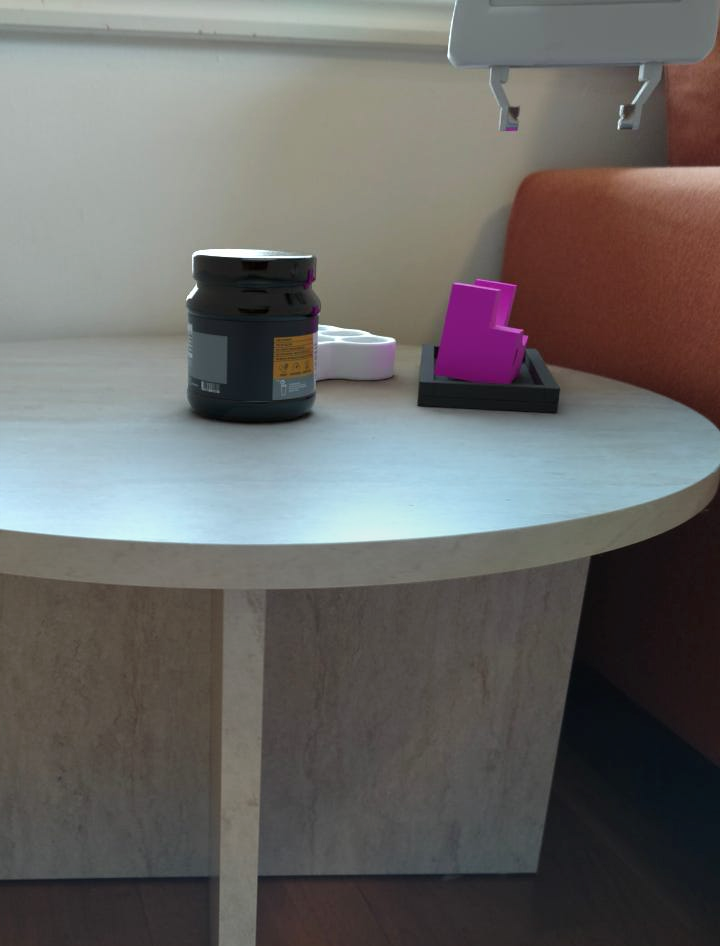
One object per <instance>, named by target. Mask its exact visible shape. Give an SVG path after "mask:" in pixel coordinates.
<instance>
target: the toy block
mask: <svg viewBox="0 0 720 946" xmlns="http://www.w3.org/2000/svg"><path fill="white" fill-rule="evenodd" d="M517 287H518V285H517V284H511V283H506V282H501V281H500V282H499V281H493V280H486V279H482V278H481V279H480V278H476V279H474V283H473V284H468V283H463V282H454V283H452V284H451V290H450V295H449V300H448V304H447V308H446V314H445V318H444V323H443V328H442V334H441V337H440V343H439V345H440V347H439V352H438V357H437V362H436V367H435V372H434V374H435V375H441V376H446V377H451V378H457V379H462V380H467V381H473V382H485V383H506V384H510V383H511V382H512V381H513V380H514V379H515V378H516V377H517V376H518V375H519V373H520V369H521V365H522V360H523V356H524V352H525V348H527V343H528V339H529V335H525V334H524V332H525V330H524V329H521V328H515V327H509V322H510V317H511V313H512V310H513V309H512V308H513V305H514V300H515V296H516V292H517Z"/></svg>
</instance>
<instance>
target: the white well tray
mask: <svg viewBox="0 0 720 946" xmlns="http://www.w3.org/2000/svg"><path fill="white" fill-rule="evenodd" d="M396 347H397V342H396V339H395V338H393V337H389V336H381V335H375V334H371V333H370V332H369V331H364V330H360V329H349V328H341V327H337V326H334V325H324V324H319V325H318V346H317V367H316V382H318V381H325V380H352V381H379V380H386V379H387V380H388V379H390V378H392V377H393V375H394V374H395V373H394V372H395V360H396V359H395V358H396Z"/></svg>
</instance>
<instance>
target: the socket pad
mask: <svg viewBox="0 0 720 946" xmlns="http://www.w3.org/2000/svg"><path fill="white" fill-rule="evenodd" d="M421 345H422V346H421V356H420V365H419V366H420V367H419V378H418V380H419V381H418V390H417V391H418V393H417V402H416V403H417V405H416V406H418V407H435V408H436V407H437V408H453V409H456V408H457V409H473V410H474V409H475V410H492V411H512V412H530V413H531V412H532V413H533V412H534V413H553V414H556V413H558V408H559V402H560V401H559V400H560V393H561V387H560V386H559V384H558V383H557V381H556V379H555V377H554V376H553V374H552V372H551V371H550V368H549V367H548V365H547V363H546V362H545V361H544V359H543V356H542V355H541V354H540V352H539V350H538V349H537V348H527V347H526V348H525V352H524V356H523V360H522V365H521V369H520V373H519V375H518V376H517V377H516V378H515V379H514V380H513V381H512V382H511V383H510V384H506V383H485V382H473V381H467V380H462V379H457V378H451V377H446V376H441V375H435V374H434V372H435V367H436V362H437V357H438V352H439V347H440V344H433V343H432V344H430V343H422V344H421Z"/></svg>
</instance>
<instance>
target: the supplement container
mask: <svg viewBox="0 0 720 946" xmlns="http://www.w3.org/2000/svg"><path fill="white" fill-rule="evenodd" d="M317 262H318V258H317V256H316V255H315V254H314V253H311V252H305V251H297V250H287V249H286V250H285V249H265V248H264V249H263V248H259V249H258V248H219V249H218V248H217V249H203V250H198V251H195V252H194V253H193V254H192V279H193V280H195V287H193V289H192V290H191V291H190V293H189V294H188V295H187V298H186V299H185V308H186V309H185V310H186V312H187V388H186V398H187V402H188V403H189V406H190V407H191V408H192V409H194V411H196V412H198V413H200V414H201V415H203V416H206V417H209V418H214V419H219V420H225V421H231V422H232V421H233V422H246V423H247V422H248V423H249V422H250V423H267V422H279V421H286V420H291V419H296V418H298V417H301V416H303V415H305V414H306V413H308V412H310V411H311V410H312V409H313V407H314V406H315V403H316V401H317V390H316V385H317V381H316V367H317V346H318V325H320V314H321V312H322V302H321V299H320V298H319V296H318V294H317V293H316V291H315V290H314V289H313V283H315V282H316V281H317V264H318V263H317Z"/></svg>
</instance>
